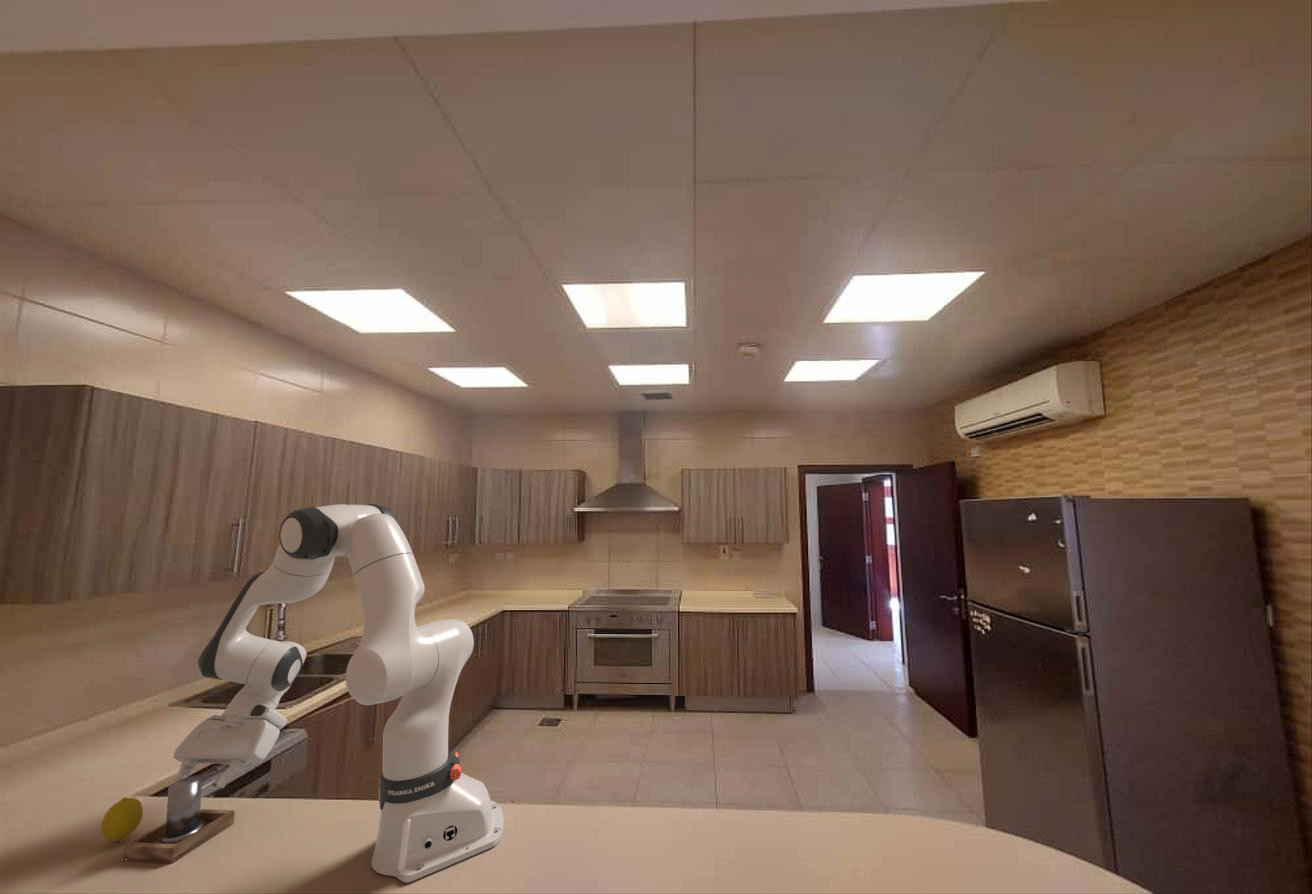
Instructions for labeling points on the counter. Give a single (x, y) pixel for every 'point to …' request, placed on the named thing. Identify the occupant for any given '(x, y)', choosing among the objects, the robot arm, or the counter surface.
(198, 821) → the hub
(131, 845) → the tray
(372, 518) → the robot arm
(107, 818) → the lemon
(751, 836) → the counter surface
